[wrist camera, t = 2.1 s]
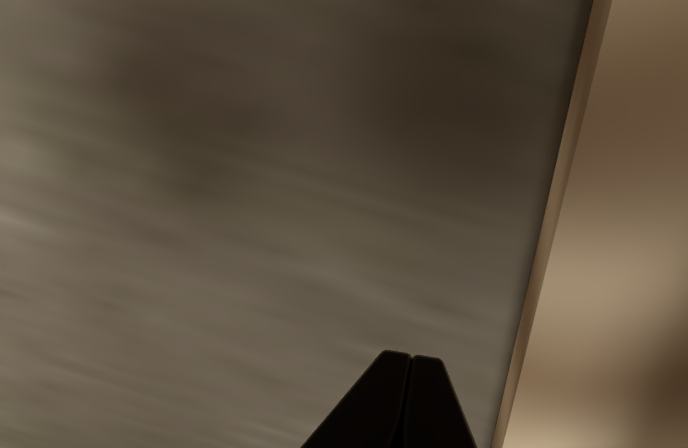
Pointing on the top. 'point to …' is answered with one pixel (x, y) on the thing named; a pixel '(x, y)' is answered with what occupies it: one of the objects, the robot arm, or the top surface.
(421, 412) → the robot arm
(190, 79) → the top surface
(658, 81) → the wooden base tray
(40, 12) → the top surface
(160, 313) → the top surface
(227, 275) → the top surface
